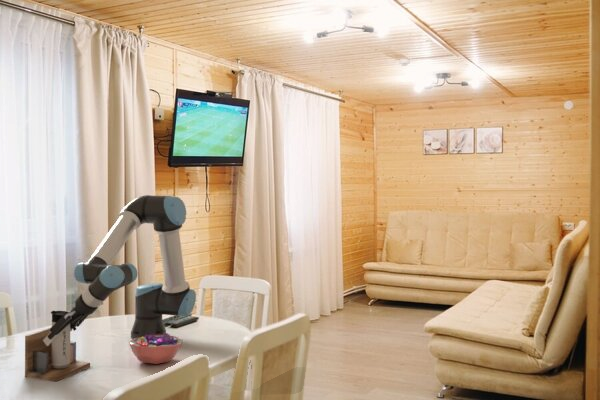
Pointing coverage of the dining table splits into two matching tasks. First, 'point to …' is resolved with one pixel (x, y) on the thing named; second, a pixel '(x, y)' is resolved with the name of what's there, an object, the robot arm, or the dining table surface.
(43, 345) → the shelf
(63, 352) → the travel mug
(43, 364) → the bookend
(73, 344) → the books
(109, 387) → the dining table surface
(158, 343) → the candy bowl
